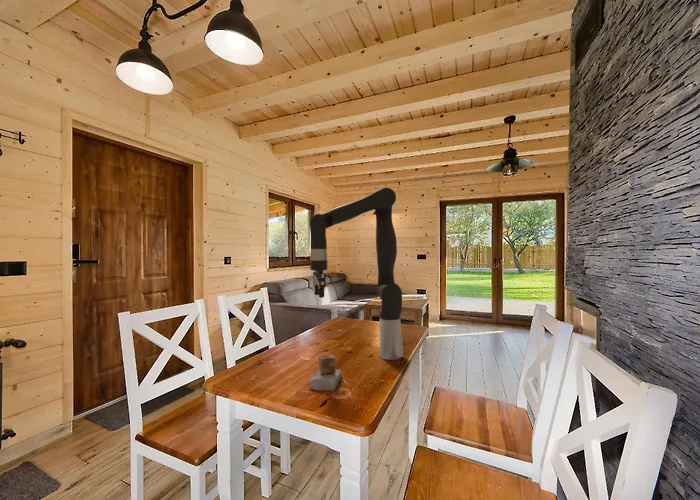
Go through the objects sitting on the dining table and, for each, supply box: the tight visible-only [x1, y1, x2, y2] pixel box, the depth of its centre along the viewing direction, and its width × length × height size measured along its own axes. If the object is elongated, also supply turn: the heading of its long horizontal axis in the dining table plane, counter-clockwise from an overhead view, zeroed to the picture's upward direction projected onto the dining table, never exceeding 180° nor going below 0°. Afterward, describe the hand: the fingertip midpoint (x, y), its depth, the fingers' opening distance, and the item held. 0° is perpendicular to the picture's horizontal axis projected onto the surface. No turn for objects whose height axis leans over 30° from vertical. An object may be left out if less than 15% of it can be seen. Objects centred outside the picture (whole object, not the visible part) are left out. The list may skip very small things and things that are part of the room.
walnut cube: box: [318, 354, 336, 374], centre depth 104 cm, size 5×5×5 cm
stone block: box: [309, 368, 342, 391], centre depth 103 cm, size 12×5×10 cm
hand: (319, 296), depth 127 cm, fingers open, 8 cm apart
